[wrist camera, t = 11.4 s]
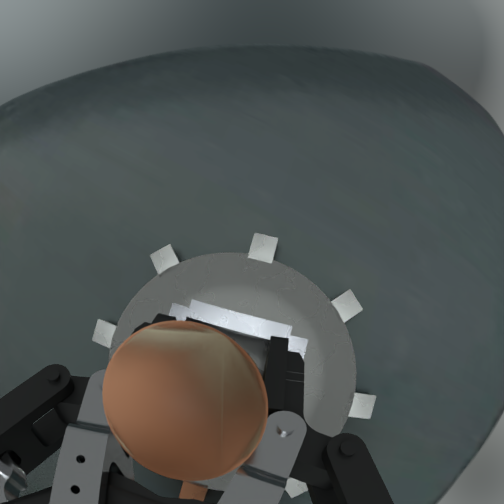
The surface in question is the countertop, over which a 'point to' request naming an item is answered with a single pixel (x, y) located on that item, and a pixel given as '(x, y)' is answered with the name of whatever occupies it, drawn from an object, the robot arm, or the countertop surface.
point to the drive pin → (185, 400)
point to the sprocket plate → (256, 328)
